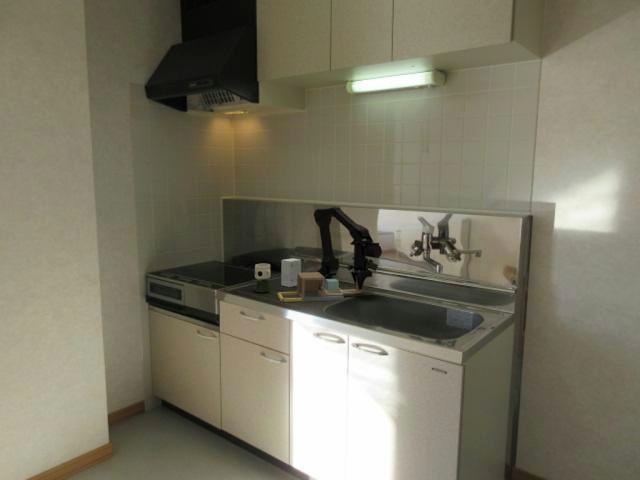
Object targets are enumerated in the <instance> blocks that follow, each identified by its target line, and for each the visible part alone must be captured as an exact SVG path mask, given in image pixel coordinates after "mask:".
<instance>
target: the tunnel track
mask: <svg viewBox="0 0 640 480" xmlns="http://www.w3.org/2000/svg"><path fill="white" fill-rule="evenodd" d="M321 280H322V292H321V290H319V289H320V288H319V286H320V285H319V283H320V281H321ZM324 290H325V277H324V276H322V275H321V274H320V273H319V272H318V271H316V272H315V271H314V272H313V271H311V272H304V271H303V272H301V273H297V285H296V291H283V292H281V291H279V292H277V297H278V299H279V300H280V302H281V303H300V302H301V303H302V302H303V303H304V302H322V301H324V302H327V301H328V302H329V301H344V299H345V297H344V295H343V294H342V295H327V296H325V295H324Z"/></svg>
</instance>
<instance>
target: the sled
mask: <svg viewBox="0 0 640 480" xmlns="http://www.w3.org/2000/svg"><path fill="white" fill-rule="evenodd" d="M362 289H363V288H362ZM362 289H361V290H359V288H358V285H357V281H356V286H355V289H354V288H353V289H342V288H340V287H339V289H338V290H333V291H326V290H324V295H325V296H327V295H342V296H343V295H344V294H360V293H362ZM320 291H321V292H322V287H321V289H320Z"/></svg>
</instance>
